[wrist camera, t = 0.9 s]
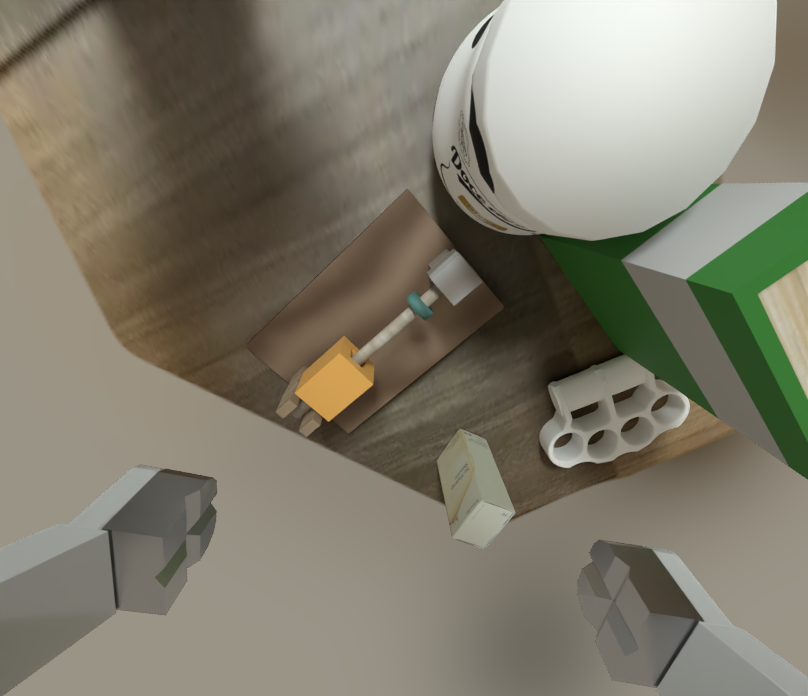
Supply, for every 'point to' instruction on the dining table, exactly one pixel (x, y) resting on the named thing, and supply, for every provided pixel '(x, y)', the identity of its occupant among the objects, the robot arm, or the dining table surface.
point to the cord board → (379, 311)
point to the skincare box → (473, 490)
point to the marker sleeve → (335, 380)
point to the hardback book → (714, 306)
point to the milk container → (599, 110)
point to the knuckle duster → (609, 412)
